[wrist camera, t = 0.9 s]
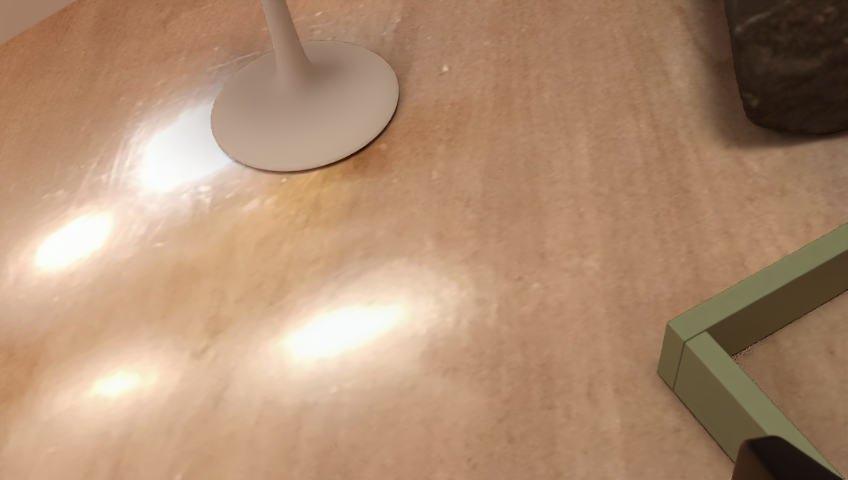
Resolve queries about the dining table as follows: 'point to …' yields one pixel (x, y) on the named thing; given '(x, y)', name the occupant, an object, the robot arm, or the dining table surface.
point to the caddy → (749, 343)
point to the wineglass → (303, 101)
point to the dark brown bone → (791, 62)
